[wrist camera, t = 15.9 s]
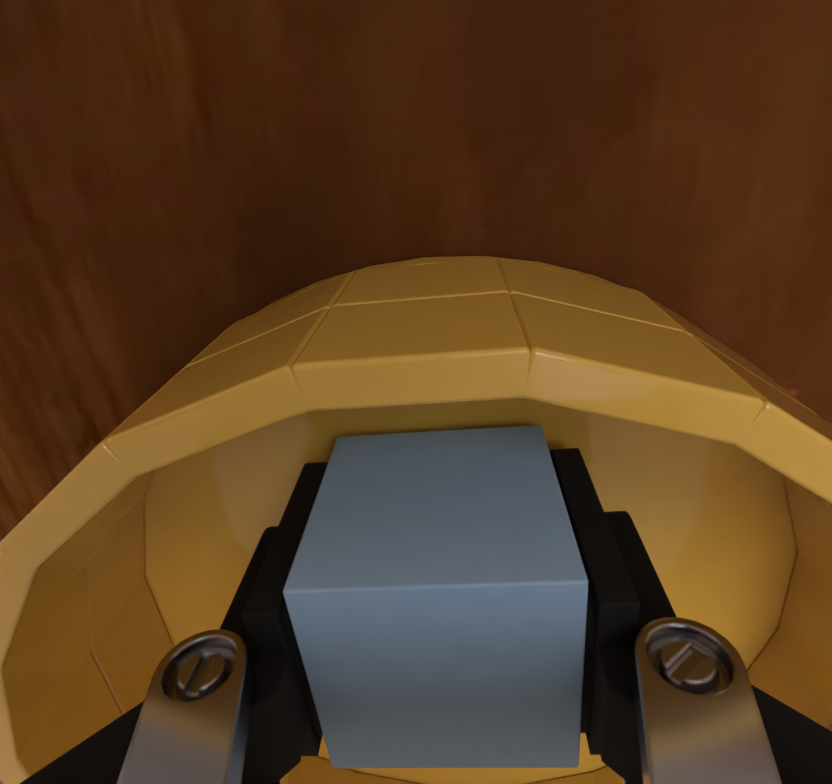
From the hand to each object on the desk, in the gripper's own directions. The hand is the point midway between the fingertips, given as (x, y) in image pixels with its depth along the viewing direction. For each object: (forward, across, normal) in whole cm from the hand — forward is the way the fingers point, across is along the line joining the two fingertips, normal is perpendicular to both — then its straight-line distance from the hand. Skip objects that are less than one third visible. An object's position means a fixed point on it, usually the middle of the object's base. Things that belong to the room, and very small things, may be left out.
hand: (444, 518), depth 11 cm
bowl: (+1, 0, +3) cm, 3 cm away
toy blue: (0, 0, 0) cm, 0 cm away
